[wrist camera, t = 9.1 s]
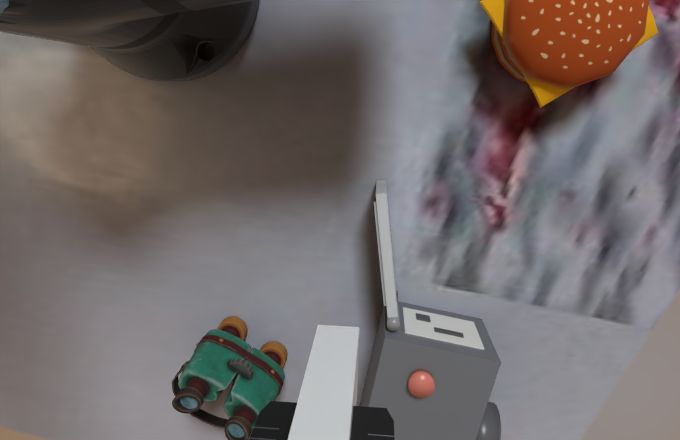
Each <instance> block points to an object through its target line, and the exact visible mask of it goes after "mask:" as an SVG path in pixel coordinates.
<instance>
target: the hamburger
mask: <svg viewBox="0 0 680 440" xmlns="http://www.w3.org/2000/svg"><path fill="white" fill-rule="evenodd" d="M479 3H480V4H481V6H482V7H483V9H484V10H485V11H486V13H487V14H488V16H489V17H490V19H491V21H492V33H491V41H492V44H493V47H494V49H495V52H496V55H497V58H498V61H499V62H500V63H501V64H502V66H503V67H504V68H505V69H506V70H507V71H508V72H509V73H510V74H511V75H512V76H513V77H514V78H515V79H518V80H520V81H523V82H525V83H528V84H529V86H530V88H531V90H532V91H533V93H534V95H535V97H536V100H537V102H538V104H539V106H540V108H541V107H543V106H544V105H546V104H548V103H549V102H551V101H553V100H554V99H556V98H558V97H559V96H561V95H563V94H564V93H566V92H567V91H569V90H571V89H572V88H574V87H576V86H579V85H582V84H585V83H588V82H591V81H594V80H596V79H599V78H602V77H605V76H608V75H611V74H612V73H613V72H614V71H615V70H616V68H617V67H618V66H619V65H620V64H621V62H622V61H623V60H624V59H625V58H626V56H627V55H628V54H629V53H630V52H631V51H632V50H634V49H635V48H636V47H638V46H639V45H641V44H642V43H644V42H645V41H647V40H648V39H650V38H651V37H653V36H654V35H656V34H657V33H658V31H657V28H656V24H655V21H654V17H653V15H652V13H651V10H650V8H649V6H648V5H649V0H482V1H481V2H479Z"/></svg>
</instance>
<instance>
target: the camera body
mask: <svg viewBox="0 0 680 440" xmlns="http://www.w3.org/2000/svg"><path fill="white" fill-rule="evenodd" d="M398 306H399V320H400V328H399V329H398V330H397V331H390V330H389V329H388V328H387V306H384V304H383V308H382V313H381V317H380V321H379V326H378V330H377V334H376V339H375V343H374V347H373V351H372V356H371V360H370V364H369V369H368V373H367V377H366V381H365V386H364V390H363V394H362V399H361V403H360V406H364V407H379V408H387V410H388V412H389V413H390V415H391V417H392V418H393V420H394V438H395V440H501V422H500V415H499V411H498V408H497V406H496V405H495V404H494V403H492V402H488V400H489V397H490V394H491V391H492V388H493V385H494V382H495V379H496V375H497V372H498V369H499V366H500V363H501V362H500V359H499V357H498V355H497V353H496V350H495V348H494V346H493V344H492V341H491V339H490V337H489V335H488V332H487V330H486V328H485V325H484V323H483V321H482V319H479V318H474V317H469V316H464V315H459V314H455V313H450V312H445V311H440V310H436V309H431V308H426V307H421V306H416V305H412V304H407V303H402V302H398Z"/></svg>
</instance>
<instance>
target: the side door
mask: <svg viewBox="0 0 680 440" xmlns="http://www.w3.org/2000/svg"><path fill="white" fill-rule="evenodd" d="M374 211H375V221H376V231H377V242H378V252H379V262H380V272H381V282H382V292H383V302H384V306H387V328H388V329H389V330H390V331H397V330H398V329H399V328H400V320H399V306H398V293H397V291H396V283H395V272H394V261H393V250H392V239H391V228H390V217H389V206H388V195H387V184H386V180H377V182H376V201H374Z"/></svg>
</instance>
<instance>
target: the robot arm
mask: <svg viewBox="0 0 680 440" xmlns="http://www.w3.org/2000/svg"><path fill="white" fill-rule="evenodd" d="M258 5H259V0H0V32H4V33H11V34H17V35H23V36H29V37H36V38H42V39H48V40H54V41H60V42H67V43H73V44H79V45H85V46H90V47H91V48H92V49H94V50H95V51H96V52H97V53H99V54H100V55H101V56H103V57H104V58H105V59H106V60H108V61H109V62H111V63H112V64H114V65H115V66H117V67H119V68H120V69H122V70H124V71H126V72H129V73H131V74H134V75H136V76H139V77H143V78H147V79H152V80H160V81H188V80H193V79H197V78H200V77H203V76H206V75H208V74H210V73H212V72H214V71H216V70H217V69H219V68H220V67H222V66H223V65H224V64H226V63H227V62H228V61H229V60H230V59H231V58H232V57H233V56H234V55H235V54H236V53H237V52H238V50H239V49H240V48H241V47H242V45H243V44H244V42H245V40H246V39H247V37H248V35H249V33H250V31H251V29H252V26H253V24H254V21H255V18H256V14H257V10H258ZM358 354H359V327H347V326H329V325H318V327H317V330H316V334H315V338H314V342H313V346H312V349H311V353H310V357H309V361H308V365H307V368H306V372H305V376H304V380H303V383H302V387H301V391H300V395H299V399H298V402H297V403H291V402H277V401H270V402H269V403H268V404H267V405H266V406H265V407H264V408H263V409H262V410H261V411H260V412H259V415H258V417H257V420H256V423H255V425H254V428H253V431H252V434H251V436H250V439H249V440H395V438H394V420H393V418H392V417H391V415H390V413H389V412H388V410H387V408H379V407H364V406H356V404H357V390H358Z"/></svg>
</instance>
